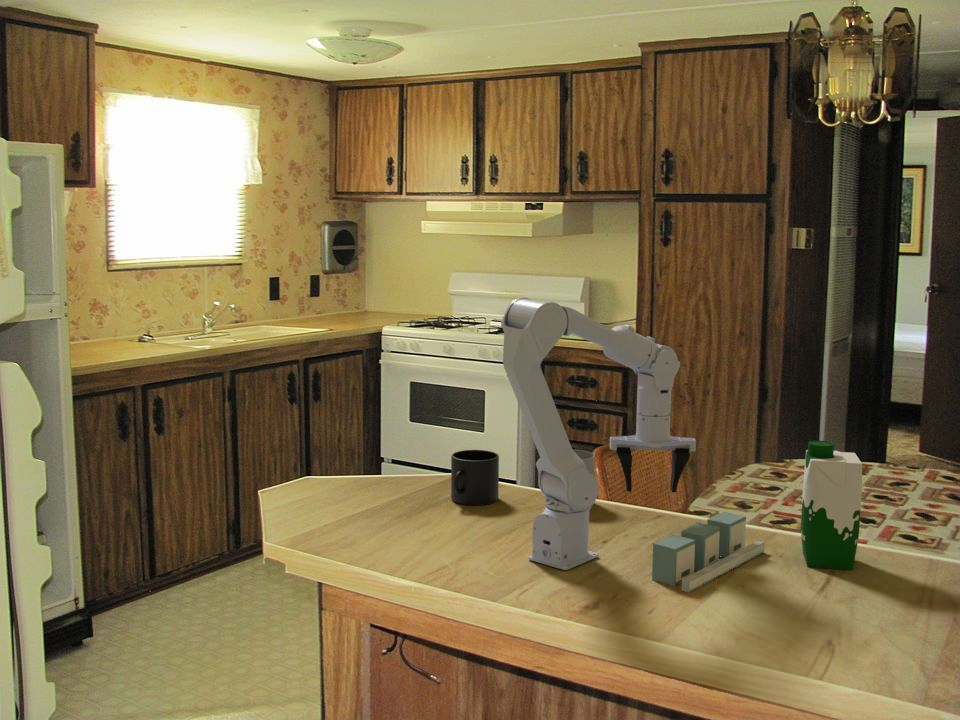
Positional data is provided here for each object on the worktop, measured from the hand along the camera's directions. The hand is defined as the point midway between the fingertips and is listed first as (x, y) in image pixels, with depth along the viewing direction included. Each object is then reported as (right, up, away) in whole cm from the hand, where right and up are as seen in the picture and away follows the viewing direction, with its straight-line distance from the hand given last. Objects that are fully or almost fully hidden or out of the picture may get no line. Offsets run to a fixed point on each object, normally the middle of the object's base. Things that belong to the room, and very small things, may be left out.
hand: (651, 490), depth 178 cm
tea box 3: (+12, -10, -3) cm, 16 cm away
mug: (-31, -6, +26) cm, 41 cm away
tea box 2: (+6, -11, -9) cm, 16 cm away
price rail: (+10, -11, -12) cm, 19 cm away
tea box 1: (+1, -12, -15) cm, 19 cm away
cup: (-11, -6, +25) cm, 28 cm away
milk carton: (+28, -11, -7) cm, 31 cm away
